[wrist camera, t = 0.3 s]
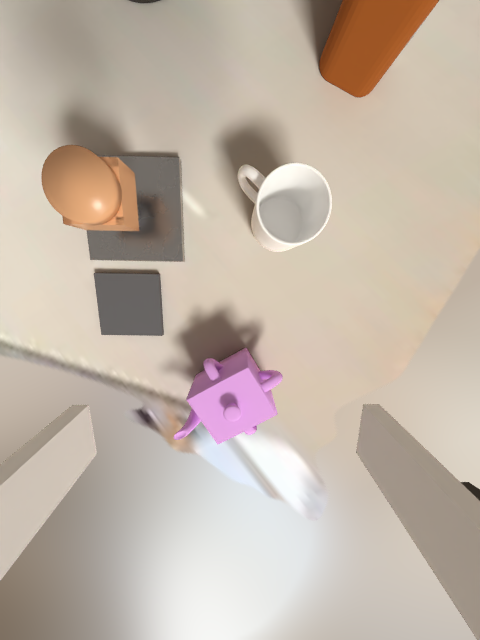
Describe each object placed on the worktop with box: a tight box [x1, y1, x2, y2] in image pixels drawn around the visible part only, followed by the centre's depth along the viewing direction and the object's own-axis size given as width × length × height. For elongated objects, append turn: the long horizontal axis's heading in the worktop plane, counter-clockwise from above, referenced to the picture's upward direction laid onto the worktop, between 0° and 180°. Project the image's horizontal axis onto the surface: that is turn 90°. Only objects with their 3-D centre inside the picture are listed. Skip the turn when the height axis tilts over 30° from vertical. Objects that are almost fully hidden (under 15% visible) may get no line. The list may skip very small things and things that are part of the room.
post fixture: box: [87, 155, 185, 262], centre depth 29 cm, size 14×14×9 cm
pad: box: [94, 273, 164, 336], centre depth 36 cm, size 10×10×1 cm
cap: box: [42, 145, 139, 231], centre depth 25 cm, size 7×7×6 cm
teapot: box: [174, 348, 282, 444], centre depth 35 cm, size 18×14×10 cm
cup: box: [238, 163, 332, 252], centre depth 29 cm, size 8×12×10 cm
